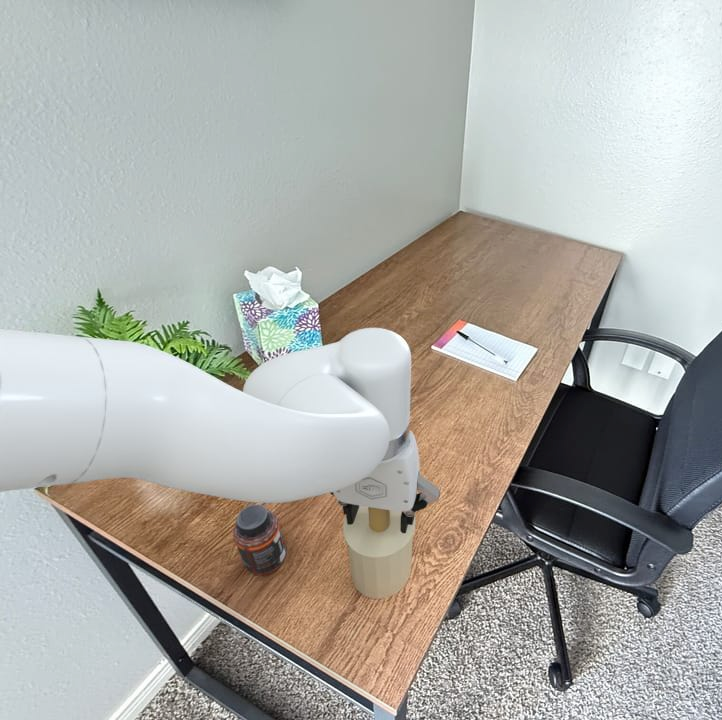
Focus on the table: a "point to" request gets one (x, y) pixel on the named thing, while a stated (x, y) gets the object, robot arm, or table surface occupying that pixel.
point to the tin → (381, 573)
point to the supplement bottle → (259, 540)
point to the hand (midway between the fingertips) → (379, 518)
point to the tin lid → (377, 533)
